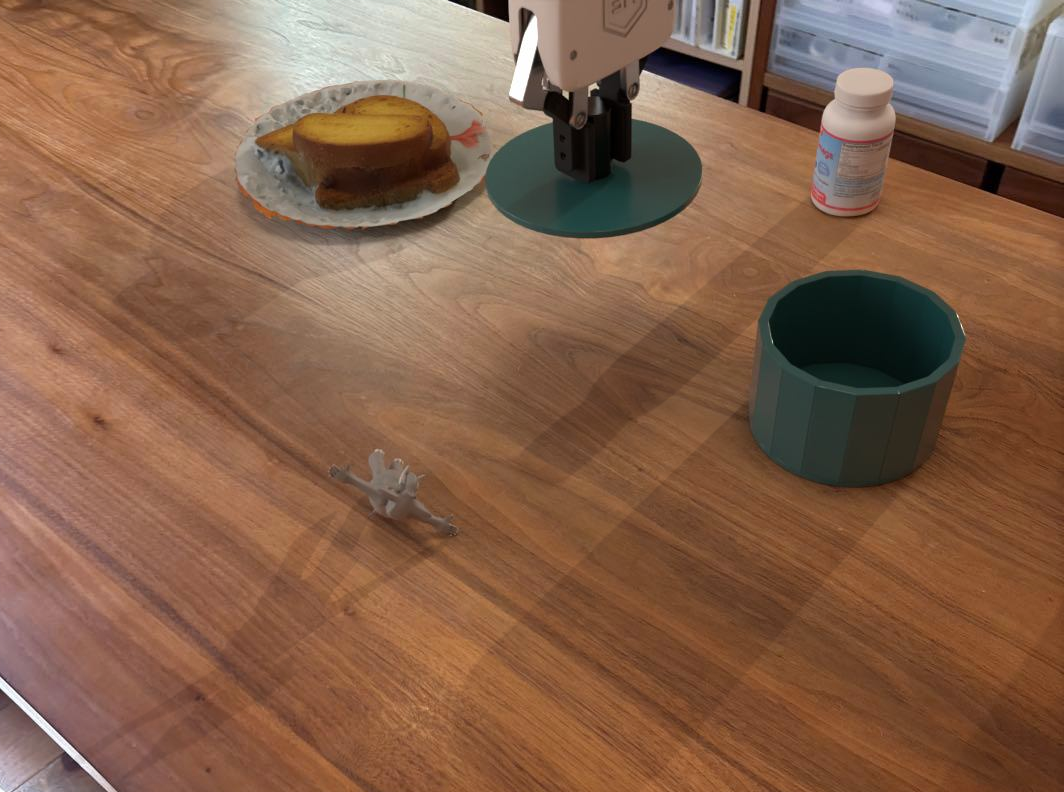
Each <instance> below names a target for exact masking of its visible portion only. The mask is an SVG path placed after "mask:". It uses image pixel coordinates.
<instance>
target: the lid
mask: <svg viewBox="0 0 1064 792" xmlns="http://www.w3.org/2000/svg"><path fill="white" fill-rule="evenodd" d="M587 121H588V122H590V123H592V124H594V127H595V161H596V176H595V179H594V181H592V182H590V183H589V184H585V183H583V182H581V181H578V180H576V179H574V178H572V177H570V176H568V175H566V174H564V173H562V172H560V171H558V170H557V169H556V167H555V161H554V139H553V121H552V122H547V123H544V124H541V125H538V126H536V127H534V128H531V129H528V130H526V131H524V132H522V133H520V134H518V135H516V136H515V137H513V138H511V139H510V140H508V141H507V142H506V143H505V144H504V145H502V146H501V147H500V148H499V149H498V150H497V151H496V152H495V153H494V154H493V157H492V159H491V160H490V162H489V164H488V167H487V170H486V175H485V176H484V180H485V181H484V182H485V183H484V184H485V190H486V194H487V197H488V198H489V201H490V203H491V204H492V205H493V206H494V207H495V209H496V210H497V212H499V213H500V214H501V215H502V216H504V217H505V218H506V219H508V220H510V221H511V222H513V223H514V224H516V225H518V226H520V227H523V228H524V229H528V230H530V231H534V232H536V233H539V234H545V235H548V236H553V237H558V238H567V239H583V240H584V239H586V240H588V239H589V240H590V239H606V238H615V237H622V236H628V235H632V234H636V233H640V232H643V231H646V230H649V229H652V228H655V227H657V226H660V225H661V224H663V223H666V222H667V221H669V220H672V219H673V218H674V217H676V216H677V215H679V214H681V213H682V212H683V211H684V210H685V209H687V207H688V206H690V205H691V204H692V203H693V201H694V200H695V198H696V197H697V195H698V194H699V192H700V189H701V187H702V183H703V179H704V178H703V177H704V171H703V170H704V169H703V163H702V160H701V157H700V155H699V153H698V151H697V150H696V149H695V148H694V146H693V145H692V143H690V142H689V141H687V140H686V138H685V137H683V136H681V135H679V134H678V133H677V132H675V131H673V130H671V129H668V128H667V127H663V126H662V125H658V124H655V123H653V122H649V121H646V120H641V119H637V118H636V119H635V118H632V149H631V159H629V160H628V161H626V162H624V163H623V162H619V161H617V160H615V159H613V105H612V103H611V102H610V101H609V100H608V99H606V98H603V97H598V96H590V95H588V118H587Z"/></svg>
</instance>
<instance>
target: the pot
mask: <svg viewBox="0 0 1064 792" xmlns="http://www.w3.org/2000/svg"><path fill="white" fill-rule="evenodd" d="M756 326H757V327H756V334H755V335H756V336H755V344H754V352H753V353H754V354H753V359H752V370H751V379H750V386H749V387H750V388H749V395H748V396H749V397H748V406H747V409H748V421H749V422H748V423H749V428H750V431H751V434H752V436H753V438H754V440H755V442H756V443H757V445H758V447H759V448H760V449H761V450H762V452H763V453H764V454H765V455H766V456H767V457H768V458H769V459H770V460H772V461H773V462H774V463H775V464H777V465H778V466H780V467H781V468H783V469H784V470H786V471H788V472H789V473H792V474H794V475H796V476H799V477H800V478H803V479H806V480H808V481H812V482H815V483H818V484H823V485H827V486H828V485H829V486H835V487H842V488H843V487H844V488H861V487H872V486H879V485H884V484H887V483H891V482H894V481H896V480H899V479H901V478H904V477H905V476H908V475H910V474H911V473H913V472H914V471H916V470H918V468H920V467H921V466H922V465H923V464H924V463H925V462H926V461H927V460H928V459H929V457H930V455H932V453H933V451H934V450H935V448H936V444H937V441H938V437H939V435H940V434H939V433H940V430H941V427H942V423H943V421H944V417H945V414H946V411H947V406H948V403H949V400H950V396H951V393H952V389H953V386H954V383H955V380H956V377H957V372H958V369H959V365H960V362H961V358H962V355H963V352H964V348H965V344H966V341H967V336H966V333H965V330H964V327H963V325H962V321H961V320H960V317H959V315H958V313H957V311H956V310H955V309H954V308H953V307H952V306H950V305H949V304H948V303H947V302H946V301H945V300H944V299H943V298H942V297H941V296H939V294H937V293H936V292H935V291H933V290H932V289H929V288H927V287H926V286H925V287H924V286H922V285H921V284H918V283H916V282H913V281H911V280H909V279H907V278H906V277H903V276H899V275H893V274H890V273H884V272H878V271H873V270H869V269H840V270H839V269H838V270H837V269H836V270H824V271H820V272H817V273H815V274H814V273H813V274H811V275H808V276H804V277H801V278H798V279H794V280H792V281H791V282H789V283H788V284H786V285H785V286H783V287H782V288H781V289H779V290H778V291H776V292H775V293H773V294H772V295H771V296H769V298H768V299H767V301H766V302H765V305H764V307H763V309H762V311H761V313H760V315H759V318H758V320H757V325H756Z"/></svg>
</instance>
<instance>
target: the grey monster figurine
mask: <svg viewBox="0 0 1064 792" xmlns="http://www.w3.org/2000/svg"><path fill="white" fill-rule="evenodd" d="M385 454H386V453H385V452H384V451H383V449H379V448H376V449H374V450H373V451H372V452H371V453H370V455H369V456H368V460H367V461H368V468H369V469H370V471H371V473H372V475H371V476H372V478H371V480H370V481H366V480H364V479H362V478H360V477H358V476H356V475H355V474H354V473H353V472H352V470H351V469H350V466H351V465H350V460H347V461H346V465H345V468H344V469H343V468H341V467H339V466H337V465H336V464H335V463H331V464H332V465H331V466H328V469H327V473H328V476H329V478H330V477H331V478H333V479H335V480H336V481H338V482H340V483H342V484H346V485H347V484H348V485H350V486H353V487H354V488H356V489H358V491H360V492H362V493H363V494H365V495H366V496H368V501H369V503H370V505H371V506H372V507H373V510H372V511H371V512H370V513H369V514H367V518H369V519H370V518H371V517H373V516H375V515H377V514H379V515H381V516H382V517H385V518H387V519H392V520H395V521H398V522H402V521H405V520H406V519H411V520H414V521H417V522H419V523H423V524H427V525H429V526H431V527H433V528H434V529H435V530H436V531H437V532H439V533H441V534H445V535H447V536H450V537H452V536H456V535H457V534H458V533H459V529H460V527H459V526H457V525H454V524H452V523H450V522H451V520H452V519H453V518H454V515H455V514H453V513H452V514H449V515H447V516H446V517H438V516H436V515H434V514H432V512H431V511H429V510H428V509H427V508H426V506H425V505H424V504H423V503H421V502H420V501H419V500H417V497H418V496H417V495H418V494H417V493H418V488H419V484H420V483H421V481H422V480H423V479H425V478H426V477H427V474H421V475H419V476H417V475H416V473H414V472H412V471H410V469H411V467H412V466H411V465H410V464H408V465H406V467H405V468H404V464H405V463H404V461H403V460H402V459H401V458H394V459H393V460H392V461H391V462H390V463H389V464H388V466H386V461H385V456H386V455H385Z"/></svg>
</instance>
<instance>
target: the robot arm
mask: <svg viewBox="0 0 1064 792" xmlns="http://www.w3.org/2000/svg"><path fill="white" fill-rule="evenodd" d="M676 2H677V1H676V0H508V18H509V19H508V22H509V23H508V24H509V38H510V45H511V46H510V47H511V53H512V58H513V62H514V67H515V68H514V73H513V77H512V81H511V85H510V89H509V92H508V100H509V102H510V103H511V104H514V105H516V106H518V107H520V108H522V109H525V110H530V111H537V112H543V114H544V115H545V116H546V117H549V118H551V119H552V122H553V139H554V161H555V167H556V169H557V170H558V171H560V172H562V173H564V174H566V175H568V176H570V177H572V178H574V179H576V180H578V181H581V182H583V183H585V184H589V183H590V182H592V181H594V179H595V176H596V161H595V127H594V124H592V123H590V122H588V121H587V118H588V97H589V96H598V97H603V98H606V99H608V100H609V101H610V102H611V103H612V105H613V159H615V160H617V161H619V162H623V163H624V162H626V161H628V160H629V159H631V149H632V119H633V117H632V116H633V103H632V102H631V101H634V100H635V99H636V98H637V97H638V95H639V93H640V88H641V80H640V79H641V78H640V77H641V74H642V72H643V71H644V69H645V67H646V65H647V63H648V61H649V58H650V54H651V53H653V52H655V51H657V50H658V49H660V48H661V47H663V45H664V44H666V43H667V42H668V40H669V39H670V37H671V36H672V35H673V32H674V29H675V23H676V10H677V9H676V8H677V7H676V6H677V5H676V4H677V3H676ZM594 84H596V87H594V88H593V89H591V90H590V91H589V87H591V86H592V85H594ZM597 87H598V88H597ZM563 92H566V93H568V98H567V97H566V96H565V95H563Z"/></svg>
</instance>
